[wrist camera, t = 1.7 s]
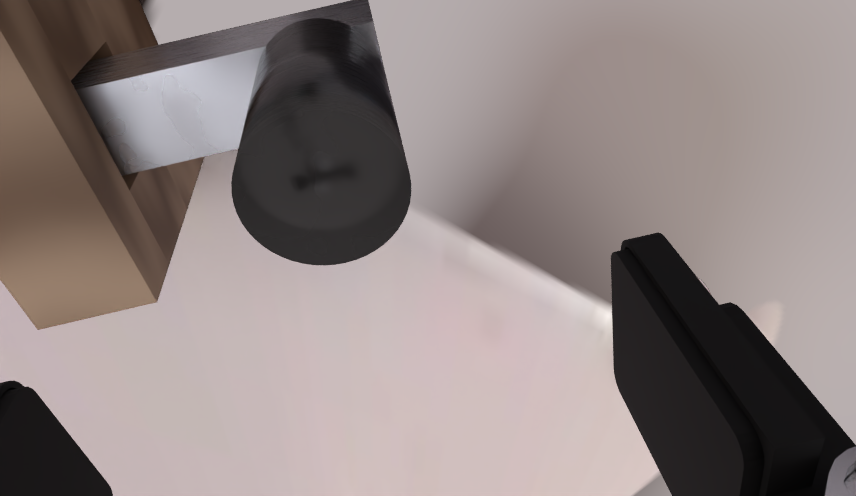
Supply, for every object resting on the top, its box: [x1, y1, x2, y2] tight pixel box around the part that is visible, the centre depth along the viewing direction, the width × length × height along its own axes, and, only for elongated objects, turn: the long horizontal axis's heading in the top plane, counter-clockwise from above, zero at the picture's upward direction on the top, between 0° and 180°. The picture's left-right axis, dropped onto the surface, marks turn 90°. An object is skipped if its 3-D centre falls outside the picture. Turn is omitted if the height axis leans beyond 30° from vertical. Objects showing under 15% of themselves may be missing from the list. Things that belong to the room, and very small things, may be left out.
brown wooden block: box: [0, 0, 204, 330], centre depth 23 cm, size 10×4×11 cm, turn 11°
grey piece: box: [71, 0, 411, 265], centre depth 18 cm, size 4×19×10 cm, turn 100°
